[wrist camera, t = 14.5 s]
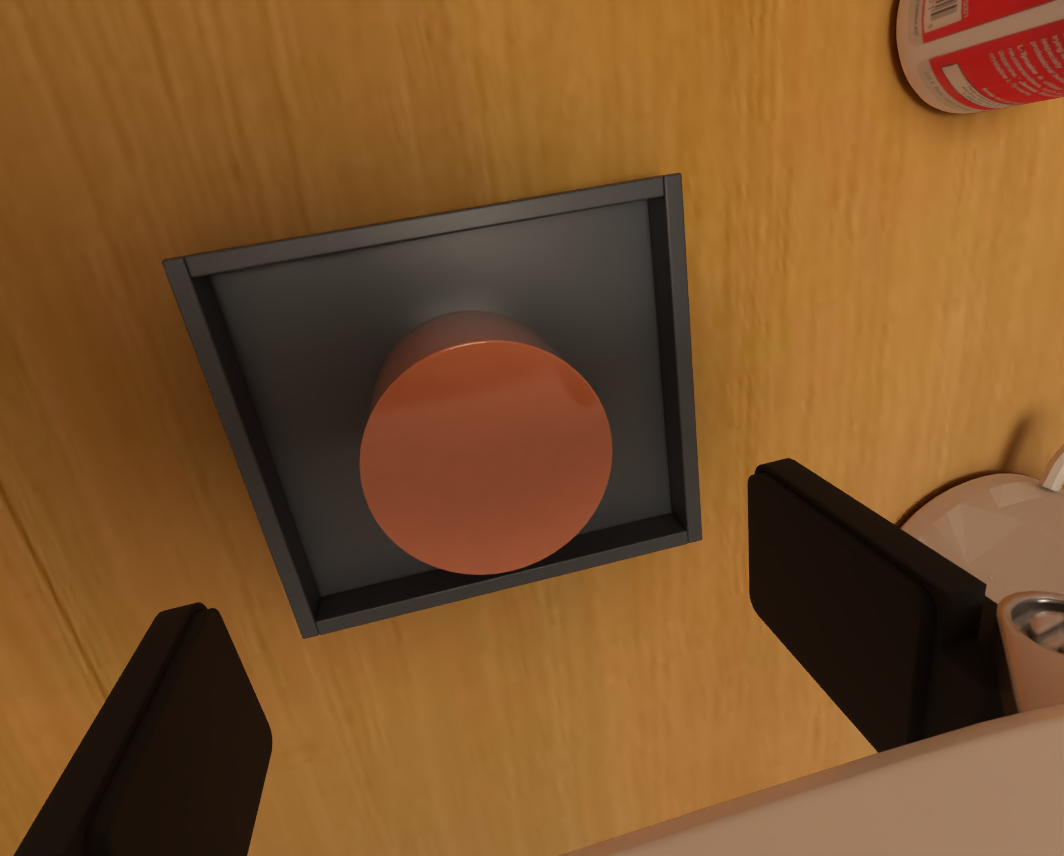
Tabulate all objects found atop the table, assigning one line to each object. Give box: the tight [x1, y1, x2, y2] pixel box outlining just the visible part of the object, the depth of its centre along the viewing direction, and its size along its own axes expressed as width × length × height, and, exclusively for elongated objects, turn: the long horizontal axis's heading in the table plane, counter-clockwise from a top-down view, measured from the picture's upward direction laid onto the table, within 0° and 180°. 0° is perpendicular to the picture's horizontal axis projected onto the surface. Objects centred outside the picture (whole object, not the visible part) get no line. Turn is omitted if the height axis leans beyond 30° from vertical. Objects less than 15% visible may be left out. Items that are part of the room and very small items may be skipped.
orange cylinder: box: [359, 311, 613, 575], centre depth 19 cm, size 7×7×5 cm
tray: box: [162, 173, 702, 639], centre depth 20 cm, size 15×13×2 cm
